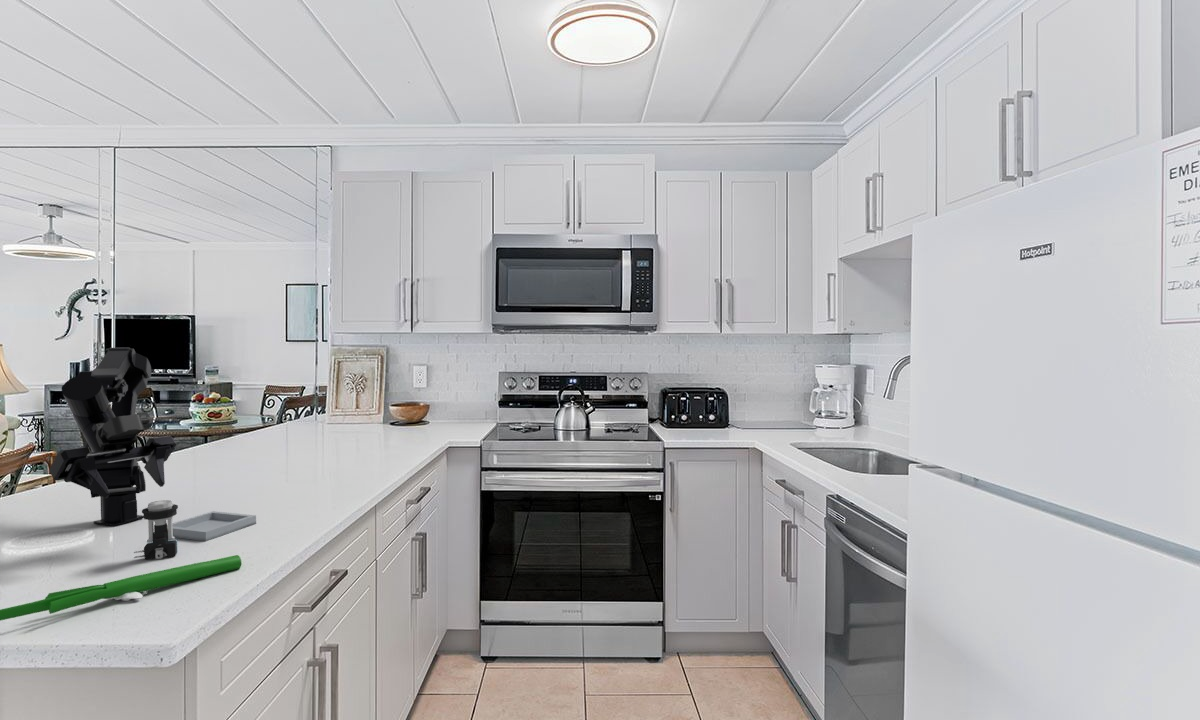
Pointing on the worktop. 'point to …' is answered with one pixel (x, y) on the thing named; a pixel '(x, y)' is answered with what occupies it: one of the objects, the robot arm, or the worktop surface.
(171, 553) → the push button
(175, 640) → the worktop surface
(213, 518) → the tray
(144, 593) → the green onion
